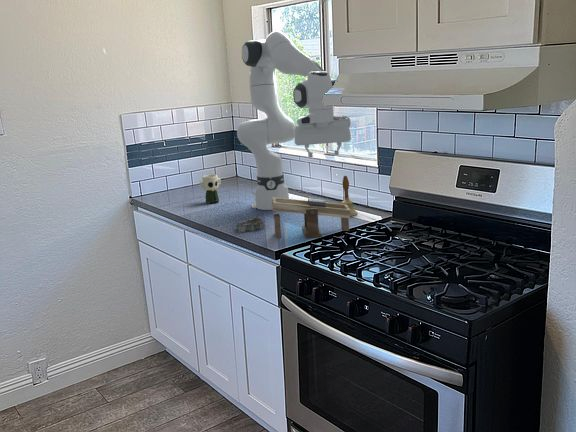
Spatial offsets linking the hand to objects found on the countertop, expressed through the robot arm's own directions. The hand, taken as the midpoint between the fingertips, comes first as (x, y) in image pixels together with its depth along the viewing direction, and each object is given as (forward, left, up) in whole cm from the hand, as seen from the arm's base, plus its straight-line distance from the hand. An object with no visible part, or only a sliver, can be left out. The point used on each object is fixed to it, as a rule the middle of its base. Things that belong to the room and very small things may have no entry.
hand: (323, 156), depth 212 cm
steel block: (+2, -4, -19) cm, 20 cm away
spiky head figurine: (-63, -47, -28) cm, 84 cm away
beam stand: (+2, -6, -28) cm, 28 cm away
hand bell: (-21, +11, -28) cm, 37 cm away
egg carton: (-11, -29, -28) cm, 42 cm away
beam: (+2, -6, -19) cm, 20 cm away
